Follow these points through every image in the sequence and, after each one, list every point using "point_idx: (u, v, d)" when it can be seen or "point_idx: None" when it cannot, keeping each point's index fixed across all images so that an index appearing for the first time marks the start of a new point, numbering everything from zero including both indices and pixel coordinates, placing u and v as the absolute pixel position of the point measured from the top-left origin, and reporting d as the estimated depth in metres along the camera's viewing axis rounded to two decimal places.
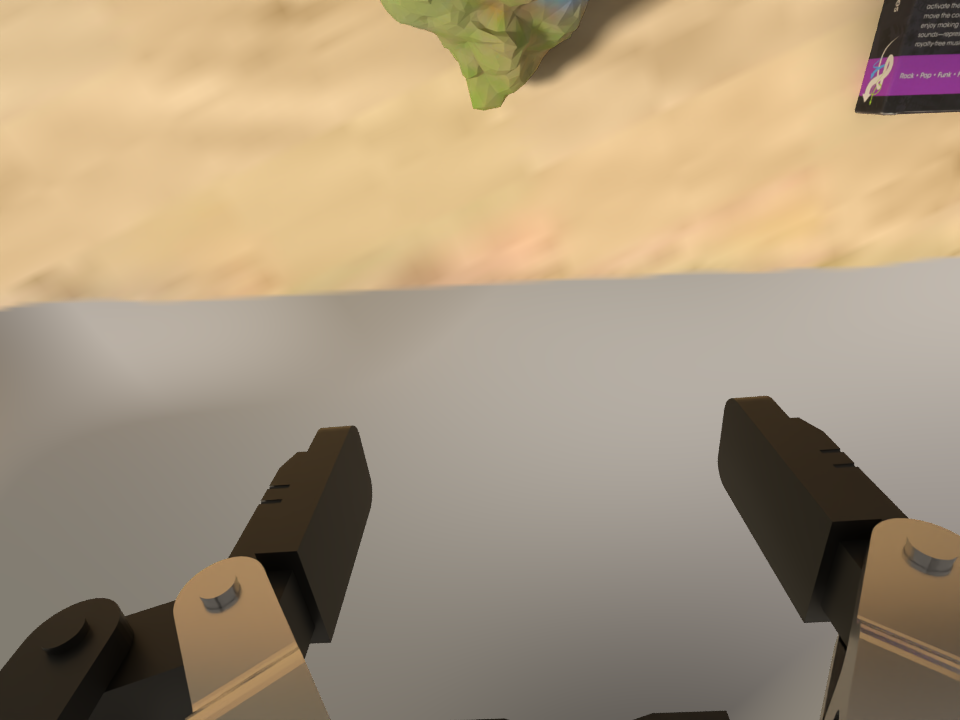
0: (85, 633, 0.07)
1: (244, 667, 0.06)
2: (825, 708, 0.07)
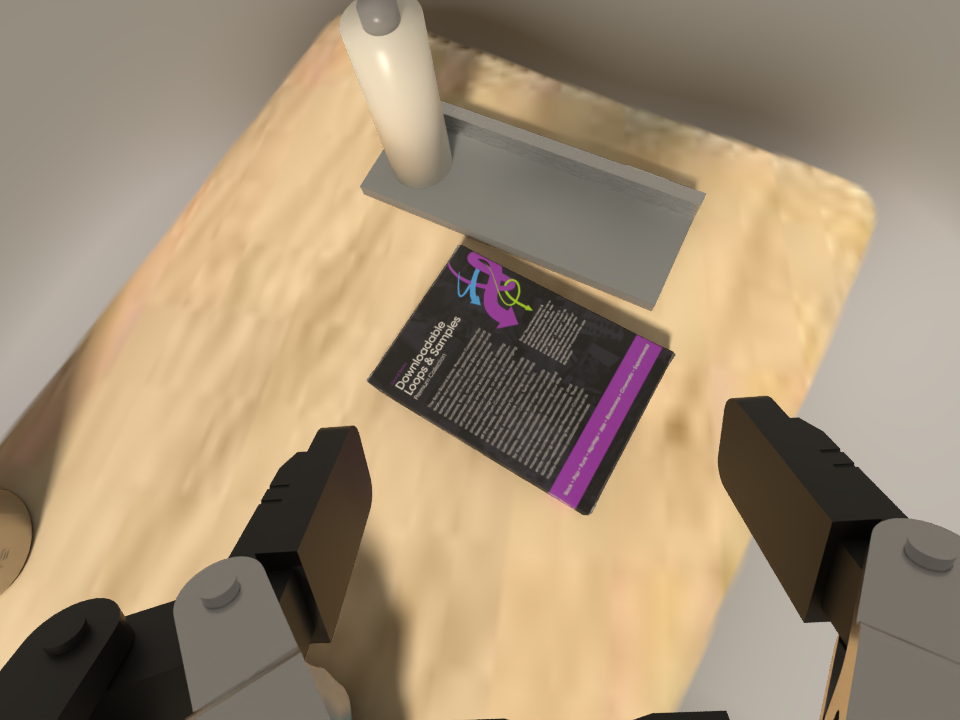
0: (85, 633, 0.07)
1: (244, 667, 0.06)
2: (825, 708, 0.07)
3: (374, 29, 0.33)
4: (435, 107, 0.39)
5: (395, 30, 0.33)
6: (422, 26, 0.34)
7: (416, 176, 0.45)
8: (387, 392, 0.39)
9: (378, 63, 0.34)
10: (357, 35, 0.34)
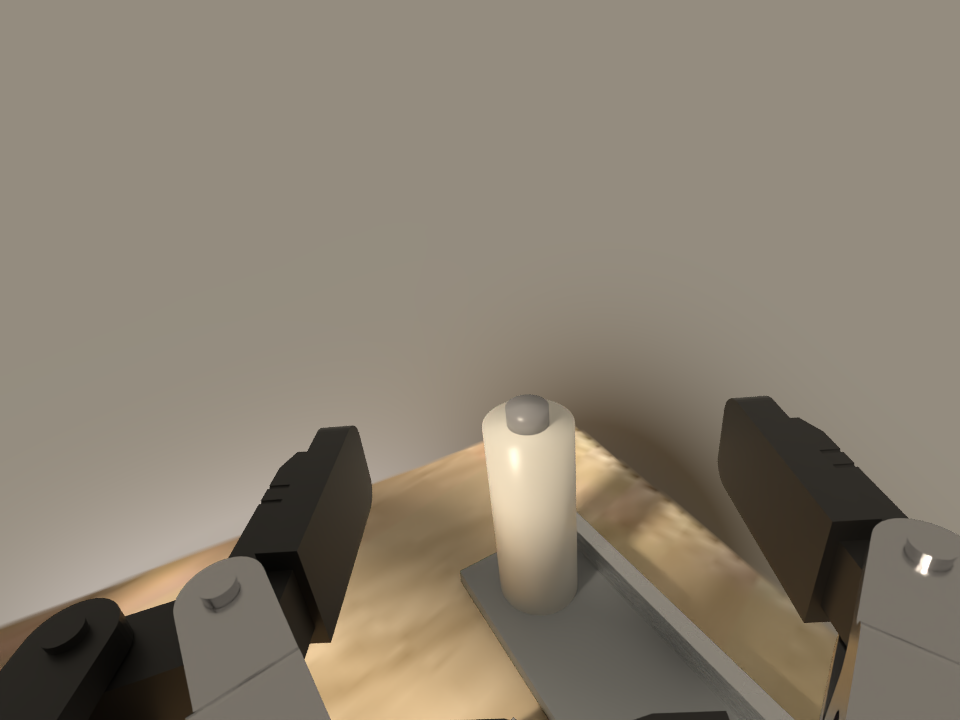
0: (85, 633, 0.07)
1: (244, 667, 0.06)
2: (825, 708, 0.07)
3: (513, 426, 0.30)
4: (560, 527, 0.32)
5: (534, 435, 0.30)
6: (564, 442, 0.29)
7: (517, 594, 0.35)
8: None
9: (501, 456, 0.30)
10: (497, 425, 0.31)
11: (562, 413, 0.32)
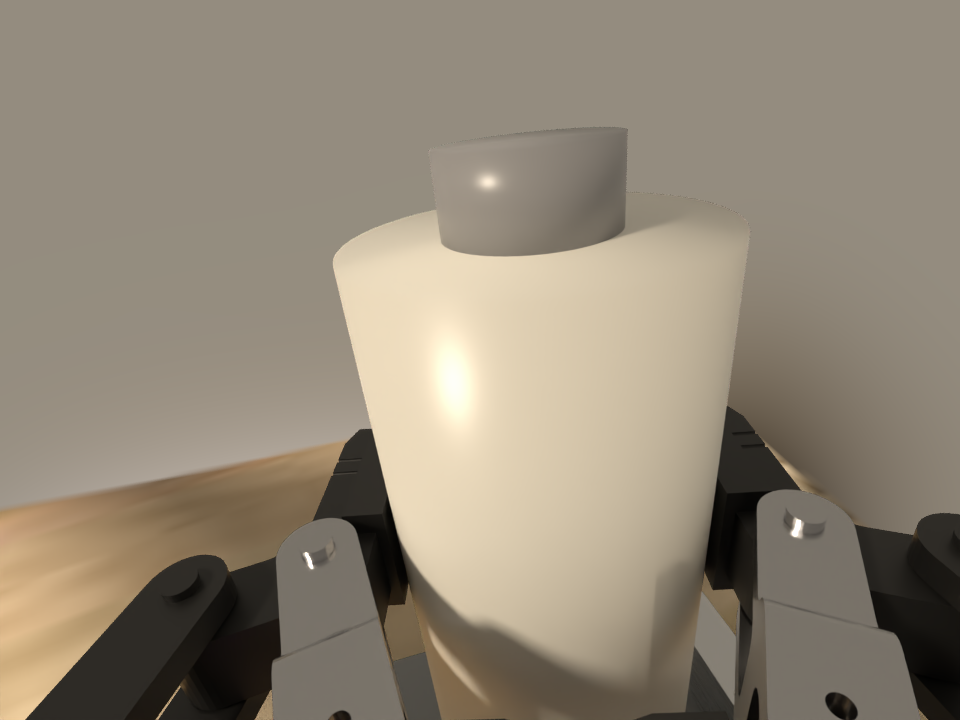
0: (198, 584, 0.07)
1: (328, 624, 0.07)
2: (739, 681, 0.07)
3: (447, 214, 0.07)
4: (622, 685, 0.08)
5: (536, 255, 0.06)
6: (686, 286, 0.05)
7: None
8: None
9: (362, 336, 0.06)
10: (410, 235, 0.08)
11: (690, 211, 0.07)
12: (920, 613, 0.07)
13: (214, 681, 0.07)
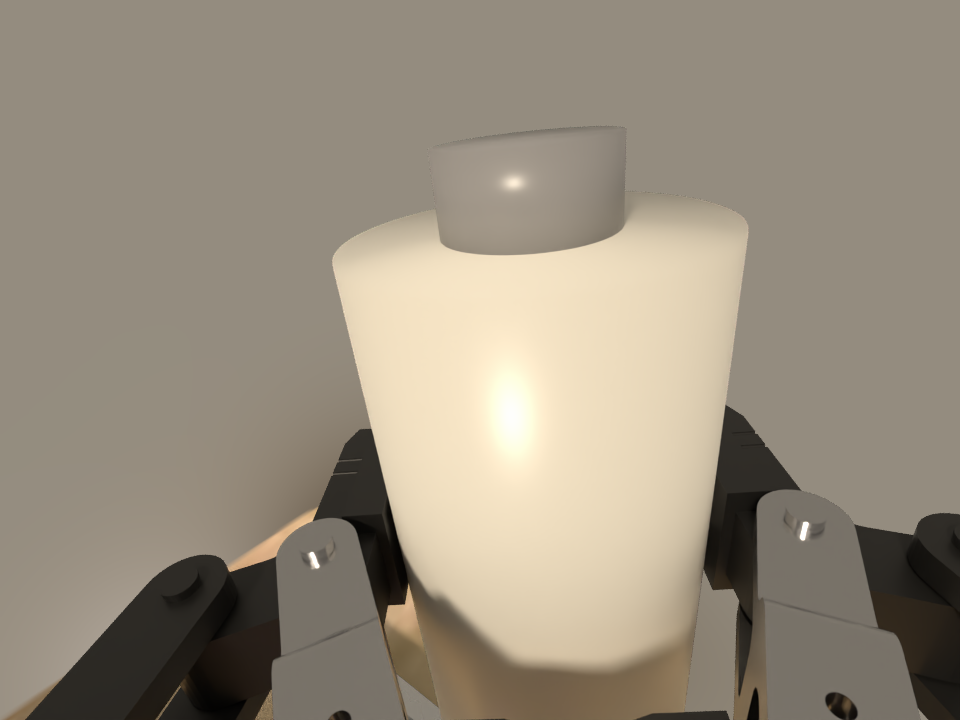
0: (198, 585, 0.07)
1: (329, 624, 0.07)
2: (739, 681, 0.07)
3: (446, 213, 0.07)
4: (621, 683, 0.08)
5: (535, 254, 0.06)
6: (684, 285, 0.05)
7: None
8: None
9: (362, 335, 0.06)
10: (409, 234, 0.08)
11: (689, 210, 0.07)
12: (920, 613, 0.07)
13: (214, 681, 0.07)
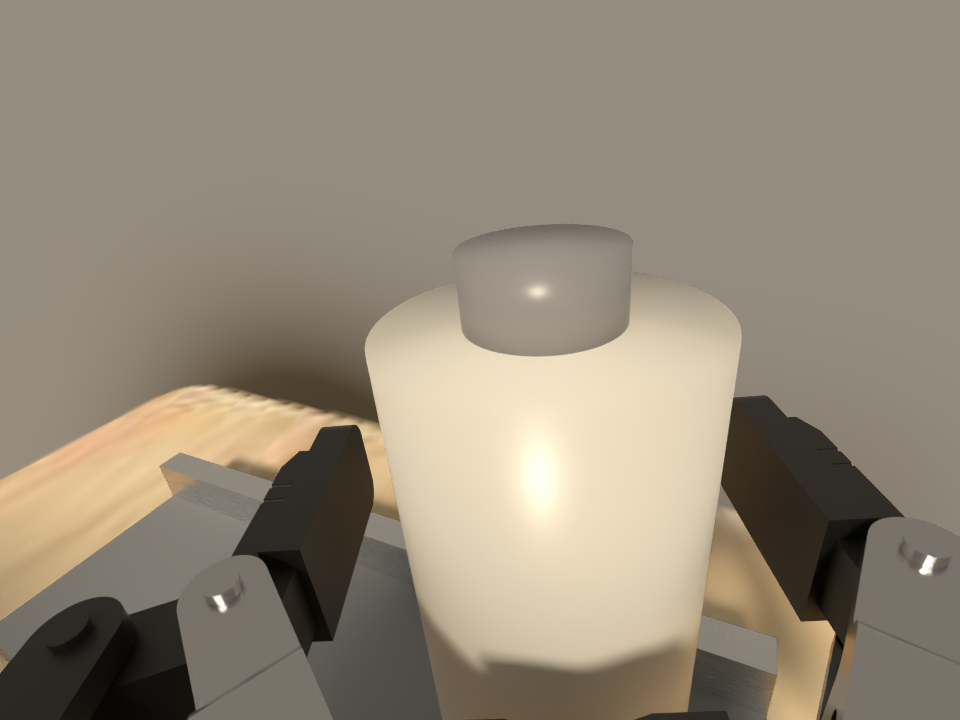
0: (89, 631, 0.07)
1: (247, 665, 0.06)
2: (822, 707, 0.07)
3: (470, 313, 0.07)
4: None
5: (550, 357, 0.07)
6: (684, 401, 0.06)
7: None
8: None
9: (393, 426, 0.07)
10: (432, 319, 0.09)
11: (689, 305, 0.08)
12: None
13: None
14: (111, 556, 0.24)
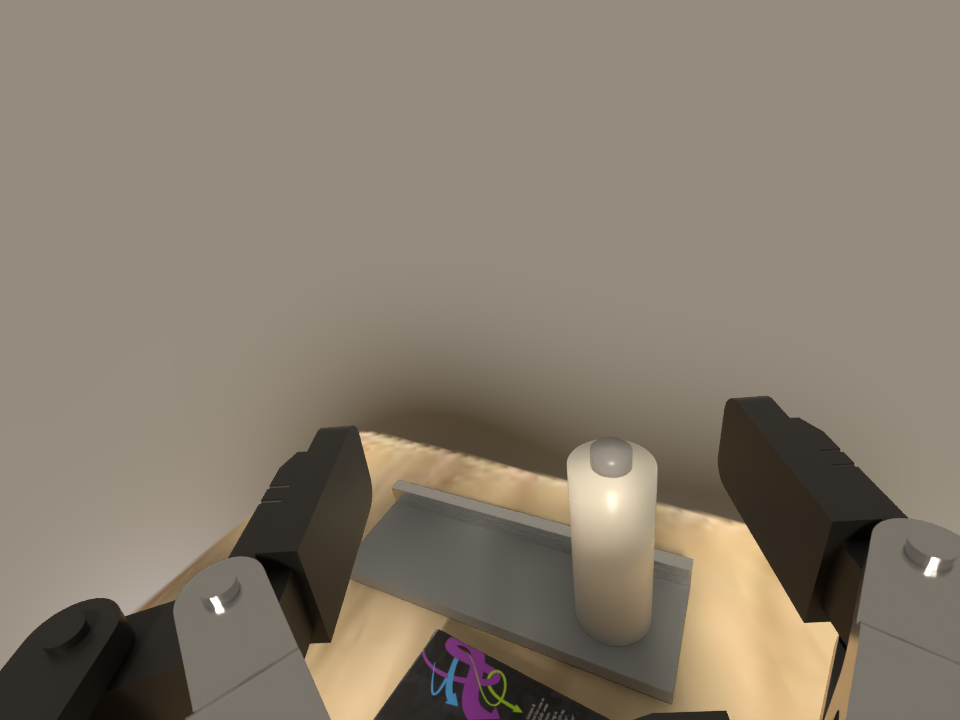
0: (85, 633, 0.07)
1: (244, 667, 0.06)
2: (825, 708, 0.07)
3: (595, 467, 0.32)
4: (634, 568, 0.33)
5: (615, 478, 0.32)
6: (643, 489, 0.31)
7: (588, 620, 0.37)
8: None
9: (581, 494, 0.32)
10: (581, 463, 0.33)
11: (646, 459, 0.33)
12: None
13: None
14: (380, 532, 0.49)
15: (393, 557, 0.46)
